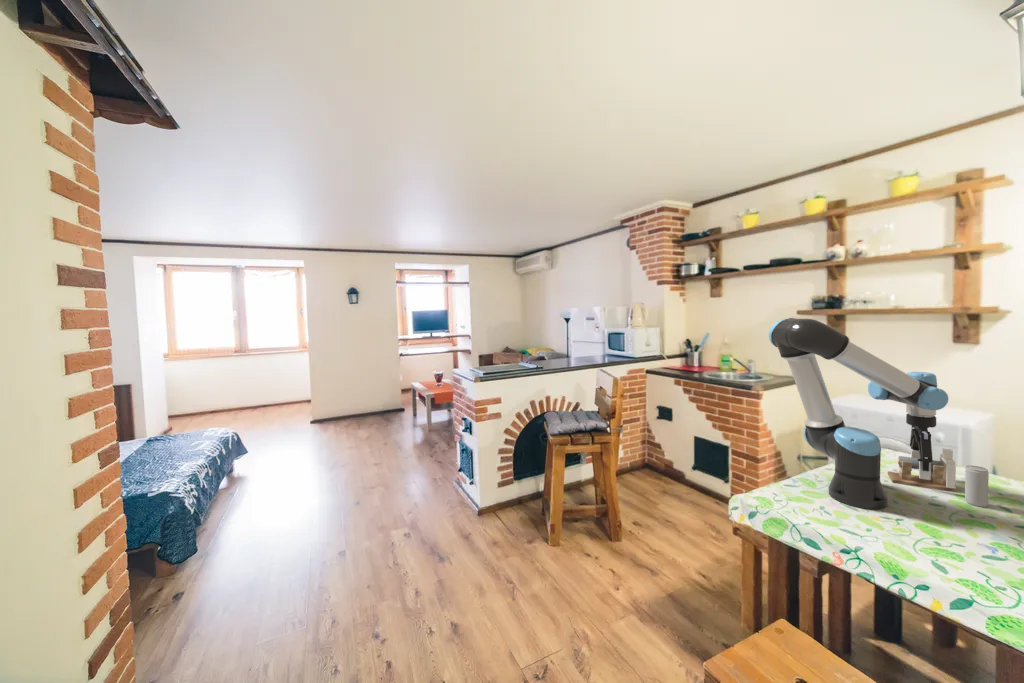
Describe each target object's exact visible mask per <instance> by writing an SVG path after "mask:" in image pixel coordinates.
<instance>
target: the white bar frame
mask: <svg viewBox="0 0 1024 683" xmlns="http://www.w3.org/2000/svg"><path fill="white" fill-rule="evenodd" d="M953 454H954V451H953V450H952V449H951V448H942V454H939V455H940V456H939V461H943V464H944V465H945V470H944V475H943V479H944V480H946V487H947V488H954V489H955V488H956V476H957V475H956V474H957V472H956V470H957V468H956V466H957V465H956V461H955V460H954V459H953V457H954V455H953Z"/></svg>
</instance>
